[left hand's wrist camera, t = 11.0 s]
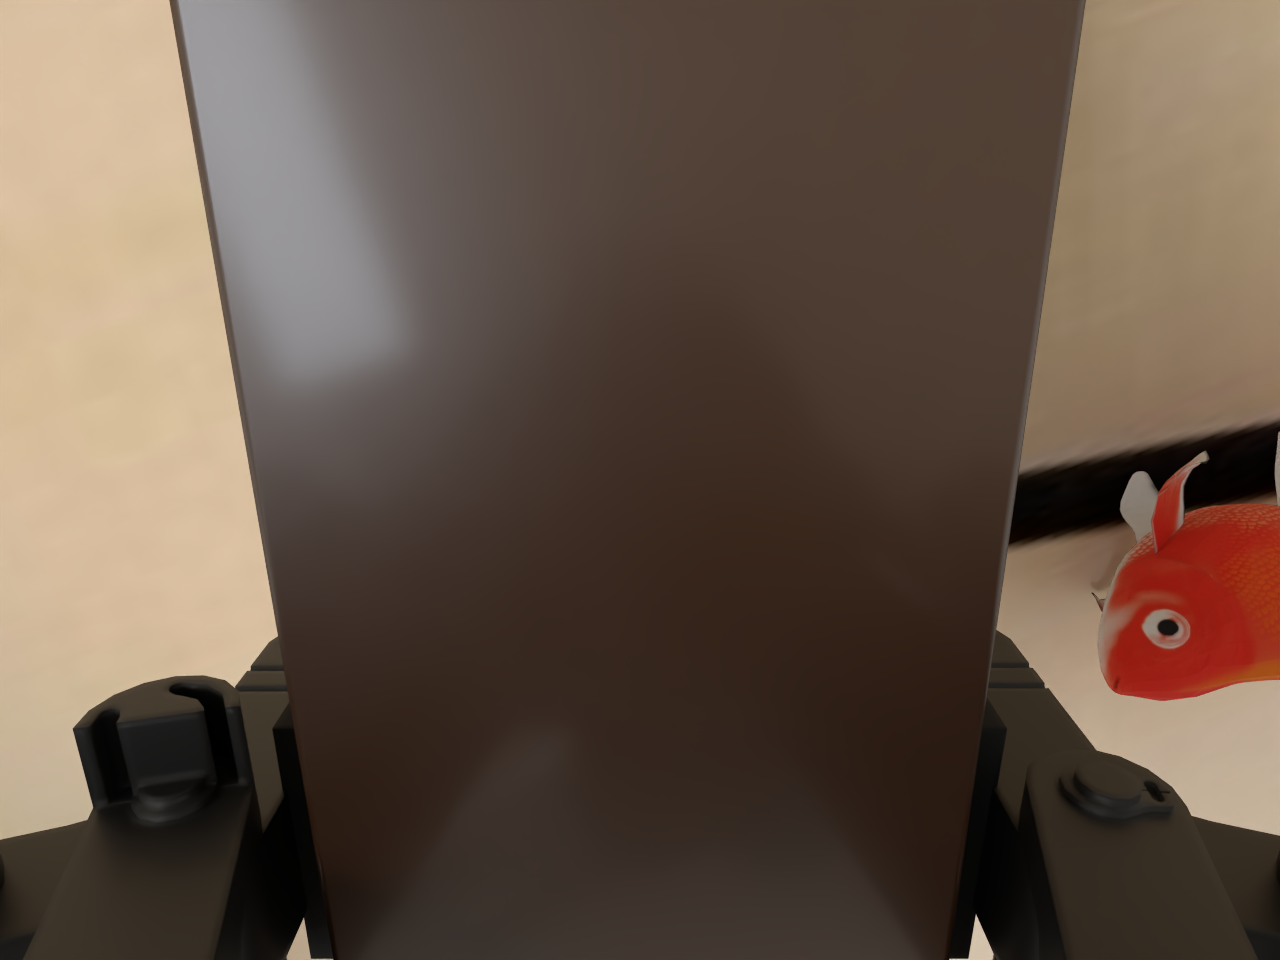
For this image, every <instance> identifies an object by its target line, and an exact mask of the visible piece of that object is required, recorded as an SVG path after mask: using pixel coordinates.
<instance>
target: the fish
mask: <svg viewBox="0 0 1280 960" xmlns="http://www.w3.org/2000/svg"><path fill="white" fill-rule="evenodd" d="M1208 460H1209V456H1208V454H1207V452H1206V451H1204V452H1202V453H1200V454H1199V455H1198V456H1196V457H1195V458H1194V459H1193V460H1192V461H1190V462H1189V463H1188V464H1186V465H1185V466H1183V467H1182V468H1181V469H1179V470H1178V471H1177V472H1176V473H1175V474H1174V475H1173V476H1172V477H1171V478H1170V479H1168V480H1167V481H1166V482H1165V484H1164V485H1163V487H1162V488H1161V490H1160V491H1159V492H1158V490H1157V489H1156V487H1155V485H1154V484H1153V482H1152V480H1151V478H1150V477H1149V475H1148V473H1146V472H1144V471H1139V472H1136V473H1134V474H1133V475H1132V477H1131V479H1130V480H1129V483H1128V485H1127V487H1126V490H1125V492H1124V495H1123V497H1122V500H1121V505H1120V511H1121V514H1122V516H1123V518H1124V519H1125V521H1126V522H1127V523H1128V524H1129V525H1130V527H1131V528H1132V529H1133V531H1134V533H1135V535H1136V542H1137V544H1136V545H1135V546H1134V547H1133V548H1132V549H1131V550H1130V551H1129V552H1128V553H1127V554H1126V555H1125V556H1124V558H1123V559H1122V561H1121V563H1120V564H1119V566H1118V568H1117V570H1116V572H1115V575H1114V577H1113V579H1112V582H1111V584H1110V587H1109V591H1108V594H1107V597H1106V599H1101V600H1099V599H1098V598H1097V596H1096V595H1095V594H1094V593H1092V594H1093V596H1094V597H1095V598H1096V600H1097V603H1098V605H1099V607H1100V609H1101V611H1102V617H1101V621H1100V626H1099V635H1098V653H1099V660H1100V666H1101V671H1102V673H1103V676H1104V678H1105V680H1106V682H1107V684H1108V686H1109V687H1110V688H1111V689H1112V690H1113V691H1114V692H1116V693H1118V694H1121V695H1128V696H1135V697H1141V698H1147V699H1153V700H1159V701H1166V700H1174V699H1182V698H1189V697H1197V696H1200V695H1203V694H1206V693H1209V692H1212V691H1214V690H1217V689H1220V688H1223V687H1227V686H1230V685H1233V684H1237V683H1243V682H1251V681H1264V680H1280V432H1279V433H1278V444H1277V453H1276V461H1275V482H1276V492H1277V505H1268V504H1251V503H1245V504H1231V505H1217V506H1210V507H1204V508H1200V509H1197V510H1194V511H1191V512H1188V513H1185V503H1184V486H1185V484H1186V481H1187V479H1188V477H1189V475H1190V473H1191V471H1192V470H1193V468H1194V467H1196V466H1198V465H1199V464H1201V463H1204V464H1206V463H1207V462H1208Z"/></svg>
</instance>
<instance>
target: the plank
mask: <svg viewBox="0 0 1280 960" xmlns="http://www.w3.org/2000/svg"><path fill="white" fill-rule="evenodd" d="M1085 1H1086V0H170V6H171V12H172V18H173V24H174V30H175V35H176V41H177V47H178V53H179V59H180V65H181V70H182V76H183V82H184V88H185V94H186V100H187V106H188V111H189V117H190V123H191V129H192V135H193V141H194V147H195V152H196V158H197V164H198V170H199V176H200V182H201V187H202V193H203V199H204V205H205V211H206V217H207V223H208V228H209V234H210V240H211V246H212V252H213V258H214V264H215V269H216V275H217V281H218V287H219V293H220V299H221V305H222V310H223V316H224V322H225V328H226V334H227V340H228V345H229V351H230V357H231V363H232V369H233V375H234V381H235V386H236V392H237V398H238V404H239V410H240V416H241V422H242V427H243V433H244V439H245V445H246V451H247V457H248V463H249V468H250V474H251V480H252V486H253V492H254V498H255V503H256V509H257V515H258V521H259V527H260V533H261V539H262V544H263V550H264V556H265V562H266V568H267V574H268V580H269V585H270V591H271V597H272V603H273V609H274V615H275V620H276V626H277V632H278V638H279V644H280V650H281V656H282V661H283V667H284V673H285V679H286V685H287V691H288V697H289V702H290V708H291V714H292V720H293V726H294V732H295V738H296V743H297V749H298V755H299V761H300V767H301V773H302V778H303V784H304V790H305V796H306V802H307V808H308V814H309V819H310V825H311V831H312V837H313V843H314V849H315V855H316V860H317V866H318V872H319V878H320V884H321V890H322V895H323V901H324V907H325V913H326V919H327V925H328V931H329V936H330V942H331V948H332V954H333V960H949V957H950V950H951V943H952V936H953V929H954V922H955V915H956V908H957V901H958V894H959V887H960V880H961V873H962V866H963V859H964V852H965V845H966V838H967V831H968V824H969V817H970V810H971V803H972V796H973V789H974V782H975V775H976V768H977V761H978V754H979V747H980V739H981V732H982V725H983V718H984V711H985V704H986V697H987V690H988V683H989V676H990V669H991V662H992V655H993V648H994V641H995V634H996V627H997V620H998V613H999V606H1000V599H1001V592H1002V585H1003V578H1004V571H1005V564H1006V557H1007V550H1008V543H1009V536H1010V529H1011V522H1012V514H1013V507H1014V500H1015V493H1016V486H1017V479H1018V472H1019V465H1020V458H1021V451H1022V444H1023V437H1024V430H1025V423H1026V416H1027V409H1028V402H1029V395H1030V388H1031V381H1032V374H1033V367H1034V360H1035V353H1036V346H1037V339H1038V332H1039V325H1040V318H1041V311H1042V304H1043V297H1044V289H1045V282H1046V275H1047V268H1048V261H1049V254H1050V247H1051V240H1052V233H1053V226H1054V219H1055V212H1056V205H1057V198H1058V191H1059V184H1060V177H1061V170H1062V163H1063V156H1064V149H1065V142H1066V135H1067V128H1068V121H1069V114H1070V107H1071V100H1072V93H1073V86H1074V79H1075V72H1076V64H1077V57H1078V50H1079V43H1080V36H1081V29H1082V22H1083V15H1084V8H1085Z"/></svg>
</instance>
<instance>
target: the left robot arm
mask: <svg viewBox="0 0 1280 960" xmlns="http://www.w3.org/2000/svg"><path fill="white" fill-rule="evenodd" d="M73 731H74V735H75V739H76V743H77V747H78V750H79V754H80V758H81V762H82V766H83V770H84V773H85V777H86V781H87V785H88V789H89V792H90V796H91V800H92V804H93V810H92V812H91V814H90V816H89V818H88V820H86V821H82V822H79V823H75V824H72V825H68V826H63V827H59V828H54V829H49V830H44V831H40V832H35V833H30V834H26V835H21V836H16V837H11V838H7V839H2V840H0V960H287V954H288V952H289V949H290V947H291V945H292V943H293V940H294V938H295V936H296V934H297V931H298V929H299V927H300V925H301V922H302V920H303V918H304V920H305V925H306V931H307V937H308V943H309V949H310V955H311V959H333V954H332V948H331V942H330V936H329V931H328V925H327V919H326V913H325V907H324V901H323V895H322V890H321V884H320V878H319V872H318V866H317V860H316V855H315V849H314V843H313V837H312V831H311V825H310V819H309V814H308V808H307V802H306V796H305V790H304V784H303V778H302V773H301V767H300V761H299V755H298V749H297V743H296V738H295V732H294V726H293V720H292V714H291V708H290V702H289V697H288V691H287V685H286V679H285V673H284V667H283V661H282V656H281V650H280V644H279V638H278V637H276V638H275V639H273V640H272V641H270V642H269V643H268V645H267V646H266V647H265V648H264V650H263V651H262V652H261V654H260V655H259V656H258V658H257V659H256V660H255V661H254V663H253V664H252V665H251V671H247V672H246V673H245V675H244V676H243V677H242V678H241V680H240V681H239V682H238V684H237V685H236V686H235V688H234V687H233V686H232V685H230V684H229V683H228V682H227V681H225V680H221V679H217V678H212V677H208V676H175V677H170V678H166V679H161V680H156V681H152V682H147V683H143V684H141V685H138V686H136V687H133V688H131V689H128V690H125V691H123V692H120V693H118V694H115V695H113V696H112V697H110V698H108V699H107V700H105V701H104V702H102V703H101V704H99V705H97V706H96V707H94V708H93V709H91V710H89V711H88V712H87V713H86V715H85V716H84V717H83V718H82V719H81V720H80V721H79V722H78V723H77V725H76V726H75V727H74V728H73ZM976 915H977V917H978V919H979V922H980V924H981V926H982V928H983V931H984V933H985V935H986V937H987V940H988V942H989V944H990V946H991V949H992V951H993V953H994V956H993V960H1280V836H1278V835H1273V834H1268V833H1264V832H1259V831H1254V830H1249V829H1245V828H1240V827H1235V826H1230V825H1226V824H1221V823H1216V822H1212V821H1208V820H1204V819H1201V818H1197V817H1194V816H1191V814H1190V812H1189V810H1188V808H1187V806H1186V805H1185V803H1184V802H1183V801H1182V799H1181V798H1180V797H1179V796H1178V794H1177V793H1176V792H1175V790H1174V789H1173V788H1172V787H1171V786H1170V785H1169V784H1167V783H1166V782H1165V781H1163V780H1162V779H1160V778H1159V777H1158V776H1156V775H1155V774H1154V773H1152V772H1151V771H1150V770H1148V769H1146V768H1144V767H1142V766H1139V765H1137V764H1135V763H1133V762H1131V761H1128V760H1126V759H1124V758H1122V757H1120V756H1116V755H1112V754H1108V753H1104V752H1100V751H1096V749H1095V748H1094V747H1093V745H1092V744H1091V743H1090V742H1089V740H1088V739H1087V738H1086V736H1085V735H1084V734H1083V732H1082V731H1081V730H1080V729H1079V727H1078V726H1077V725H1076V723H1075V722H1074V721H1073V720H1072V718H1071V717H1070V716H1069V714H1068V713H1067V712H1066V710H1065V709H1064V708H1063V707H1062V705H1061V704H1060V703H1059V701H1058V700H1057V699H1056V697H1055V696H1054V695H1053V694H1052V692H1051V691H1050V690H1049V688H1045V686H1044V682H1043V681H1042V679H1041V678H1040V677H1039V675H1038V674H1037V673H1036V672H1035V670H1034V669H1033V668H1029V663H1028V661H1027V660H1026V659H1025V657H1024V656H1023V655H1022V653H1021V652H1020V651H1019V650H1018V648H1017V647H1016V646H1015V644H1014V643H1013V642H1012V640H1011V639H1010V638H1008V637H1006V636H1005V635H1003V634H1002V633H1000V632H999V631H997V630H996V634H995V641H994V648H993V655H992V662H991V669H990V676H989V683H988V690H987V697H986V704H985V711H984V718H983V725H982V732H981V739H980V747H979V754H978V761H977V768H976V775H975V782H974V789H973V796H972V803H971V810H970V817H969V824H968V831H967V838H966V845H965V852H964V859H963V866H962V873H961V880H960V887H959V894H958V901H957V908H956V915H955V922H954V929H953V936H952V943H951V950H950V957H949V959H968V957H969V951H970V945H971V939H972V933H973V927H974V922H975V916H976Z"/></svg>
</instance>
